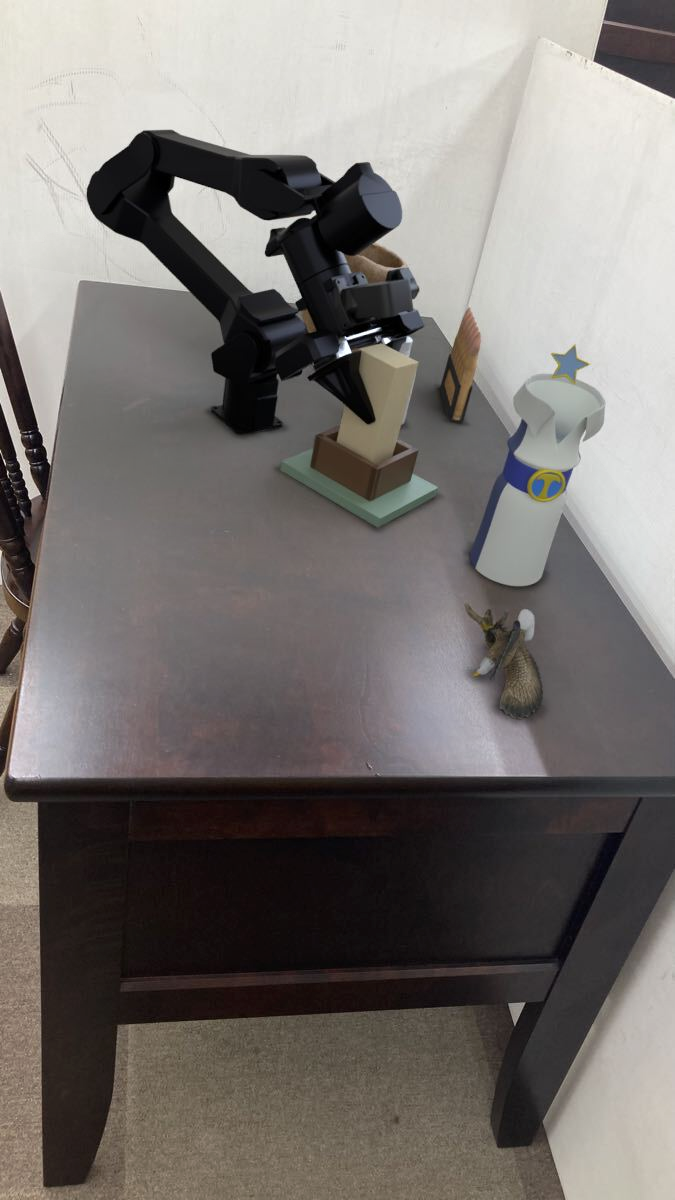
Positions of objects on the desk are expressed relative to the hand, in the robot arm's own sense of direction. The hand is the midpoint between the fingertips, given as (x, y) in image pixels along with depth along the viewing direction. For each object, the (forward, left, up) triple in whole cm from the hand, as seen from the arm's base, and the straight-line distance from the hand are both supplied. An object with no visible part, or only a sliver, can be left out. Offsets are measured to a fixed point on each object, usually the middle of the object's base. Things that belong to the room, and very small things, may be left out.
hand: (384, 418), depth 94 cm
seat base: (-1, 0, -9) cm, 9 cm away
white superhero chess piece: (+18, +5, -9) cm, 20 cm away
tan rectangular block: (-1, -1, -7) cm, 7 cm away
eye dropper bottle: (-13, +14, -9) cm, 21 cm away
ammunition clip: (-13, +26, -9) cm, 30 cm away
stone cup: (-33, +23, -9) cm, 41 cm away
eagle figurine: (+30, -9, -9) cm, 32 cm away
